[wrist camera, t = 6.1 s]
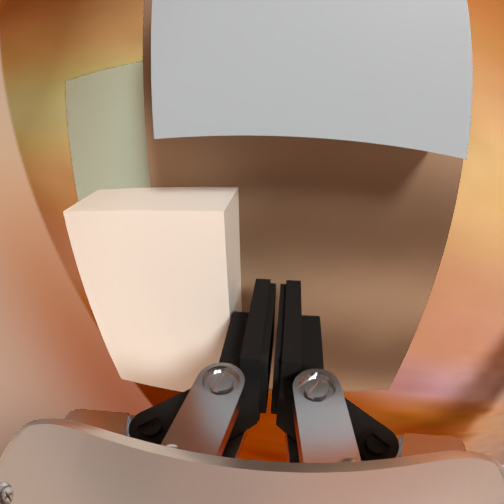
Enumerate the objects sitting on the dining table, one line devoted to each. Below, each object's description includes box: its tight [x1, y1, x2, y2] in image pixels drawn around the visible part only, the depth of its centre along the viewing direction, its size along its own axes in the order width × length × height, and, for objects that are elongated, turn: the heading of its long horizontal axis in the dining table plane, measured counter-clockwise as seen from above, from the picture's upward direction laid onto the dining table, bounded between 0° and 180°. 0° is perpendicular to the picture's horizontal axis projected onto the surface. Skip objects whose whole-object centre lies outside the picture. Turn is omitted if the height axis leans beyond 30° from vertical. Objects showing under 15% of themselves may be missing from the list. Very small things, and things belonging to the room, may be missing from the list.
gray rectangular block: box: [151, 0, 473, 159], centre depth 7 cm, size 9×6×2 cm, turn 90°
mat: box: [65, 61, 151, 202], centre depth 15 cm, size 12×7×1 cm, turn 0°
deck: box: [143, 0, 463, 391], centre depth 13 cm, size 20×12×4 cm, turn 0°
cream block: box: [63, 187, 242, 392], centre depth 12 cm, size 9×6×2 cm, turn 0°
